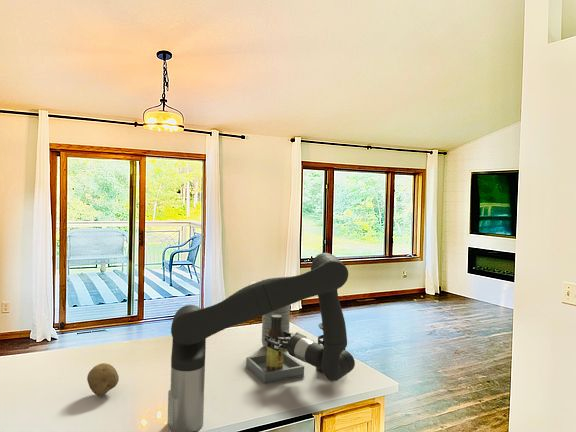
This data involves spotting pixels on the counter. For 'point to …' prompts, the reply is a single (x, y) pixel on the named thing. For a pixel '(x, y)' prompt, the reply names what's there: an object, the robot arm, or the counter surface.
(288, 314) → the vase
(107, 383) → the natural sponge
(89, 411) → the counter surface
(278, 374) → the tray
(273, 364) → the sauce bottle
